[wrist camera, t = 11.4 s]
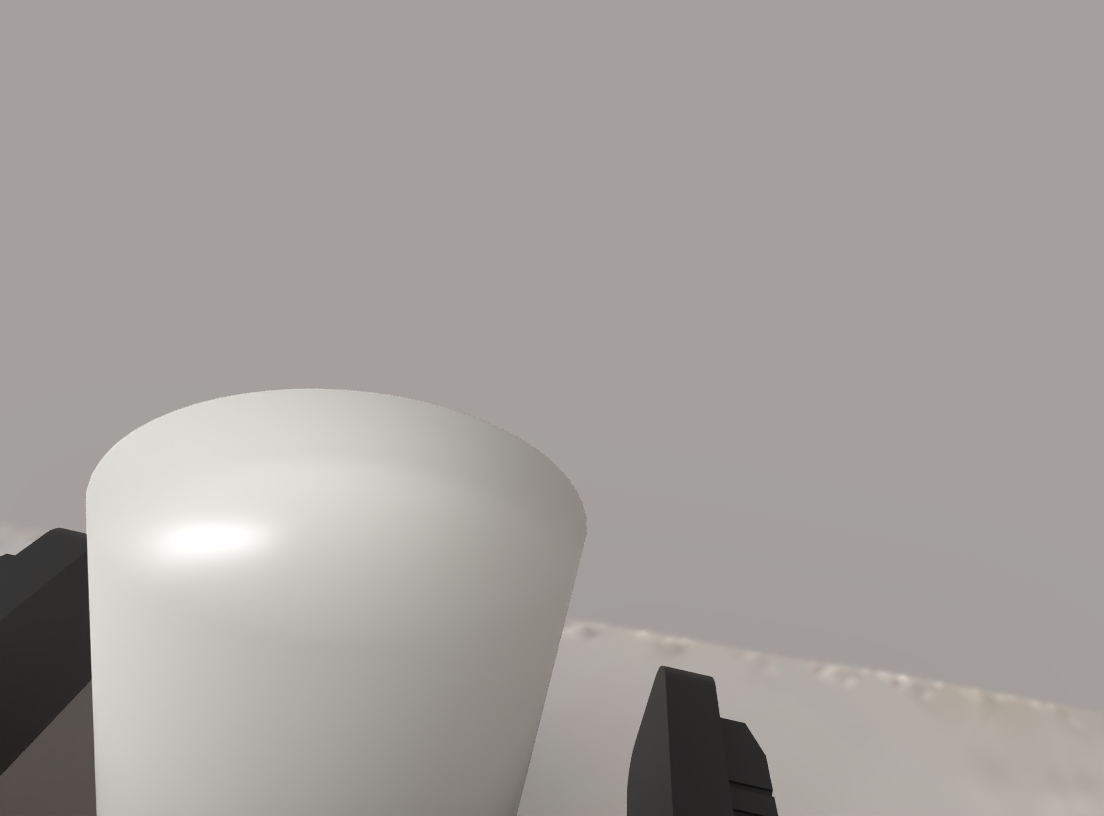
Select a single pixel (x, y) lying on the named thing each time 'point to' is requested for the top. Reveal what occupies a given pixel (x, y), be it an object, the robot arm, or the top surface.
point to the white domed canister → (323, 608)
